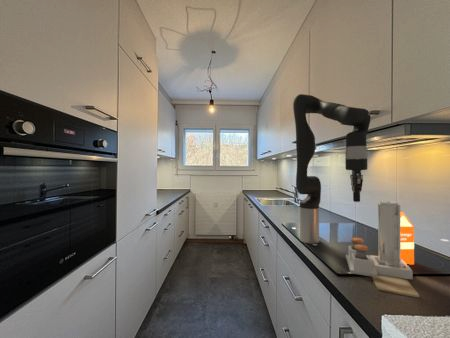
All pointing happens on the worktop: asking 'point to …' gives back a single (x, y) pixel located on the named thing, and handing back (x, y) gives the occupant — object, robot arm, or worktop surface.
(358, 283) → the worktop surface
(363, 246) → the plunger
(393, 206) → the silver metal cylinder
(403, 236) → the orange juice
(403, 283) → the mat
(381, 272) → the housing
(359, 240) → the plunger
